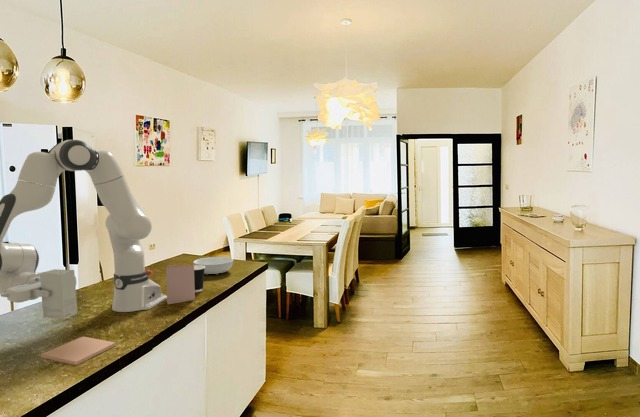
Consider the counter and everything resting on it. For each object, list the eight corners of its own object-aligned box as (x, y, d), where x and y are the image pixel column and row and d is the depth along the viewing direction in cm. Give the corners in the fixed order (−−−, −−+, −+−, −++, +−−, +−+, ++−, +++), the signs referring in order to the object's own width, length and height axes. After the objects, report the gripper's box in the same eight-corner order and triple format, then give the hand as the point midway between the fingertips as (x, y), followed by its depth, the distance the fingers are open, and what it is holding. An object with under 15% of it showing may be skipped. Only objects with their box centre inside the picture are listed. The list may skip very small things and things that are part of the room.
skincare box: (77, 314, 136) (76, 269, 135) (62, 320, 130) (61, 273, 129) (56, 312, 138) (55, 268, 137) (40, 317, 132) (39, 271, 131)
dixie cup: (209, 290, 191) (208, 267, 190) (193, 294, 185) (192, 270, 184) (200, 287, 196) (199, 264, 195) (184, 290, 191) (184, 267, 190)
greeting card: (195, 299, 178) (194, 264, 177) (189, 304, 171) (188, 269, 169) (169, 298, 178) (168, 264, 177) (162, 304, 171) (161, 268, 170)
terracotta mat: (82, 339, 136) (82, 336, 136) (115, 345, 131) (115, 342, 131) (41, 357, 123) (41, 354, 123) (76, 365, 118) (76, 361, 118)
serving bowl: (239, 269, 232) (239, 257, 231) (222, 279, 211) (222, 265, 211) (205, 267, 236) (205, 255, 236) (186, 276, 216) (185, 263, 215)
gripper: (-4, 284, 128) (27, 289, 123) (58, 269, 147) (87, 273, 142) (-3, 304, 128) (28, 310, 124) (59, 287, 147) (88, 291, 143)
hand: (60, 290), depth 133 cm, fingers closed on skincare box, 6 cm apart
